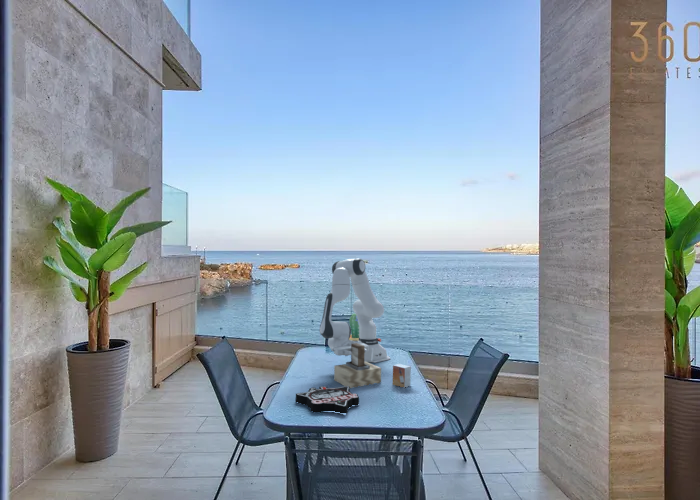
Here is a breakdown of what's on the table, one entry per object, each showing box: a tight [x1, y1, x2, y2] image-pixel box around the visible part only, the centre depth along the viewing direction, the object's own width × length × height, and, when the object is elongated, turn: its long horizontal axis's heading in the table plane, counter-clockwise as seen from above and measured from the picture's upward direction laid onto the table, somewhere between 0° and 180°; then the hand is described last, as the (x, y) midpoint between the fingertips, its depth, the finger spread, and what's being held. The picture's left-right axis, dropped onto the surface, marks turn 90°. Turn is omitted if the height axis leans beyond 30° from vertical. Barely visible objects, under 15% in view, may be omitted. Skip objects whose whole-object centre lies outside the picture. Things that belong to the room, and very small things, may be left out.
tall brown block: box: [350, 343, 365, 367], centre depth 237 cm, size 4×8×12 cm, turn 30°
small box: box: [392, 363, 412, 389], centre depth 231 cm, size 8×6×10 cm
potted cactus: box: [348, 312, 359, 341], centre depth 322 cm, size 16×15×25 cm
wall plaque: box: [295, 385, 360, 414], centre depth 201 cm, size 28×4×30 cm
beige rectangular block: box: [333, 361, 382, 389], centre depth 237 cm, size 20×16×10 cm
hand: (358, 352), depth 236 cm, fingers open, 8 cm apart
